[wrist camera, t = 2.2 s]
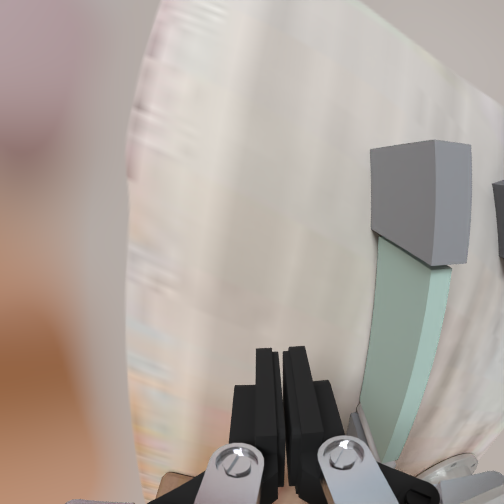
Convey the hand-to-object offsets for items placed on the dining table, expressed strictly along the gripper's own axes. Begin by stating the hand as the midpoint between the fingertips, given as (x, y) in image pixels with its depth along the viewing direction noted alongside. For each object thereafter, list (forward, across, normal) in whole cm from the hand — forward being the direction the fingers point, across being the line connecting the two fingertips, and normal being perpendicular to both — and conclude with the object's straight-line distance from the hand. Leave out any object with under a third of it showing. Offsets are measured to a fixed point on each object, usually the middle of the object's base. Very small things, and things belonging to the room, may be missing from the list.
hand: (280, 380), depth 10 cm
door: (+9, -8, +5) cm, 13 cm away
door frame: (+10, -8, +5) cm, 13 cm away
